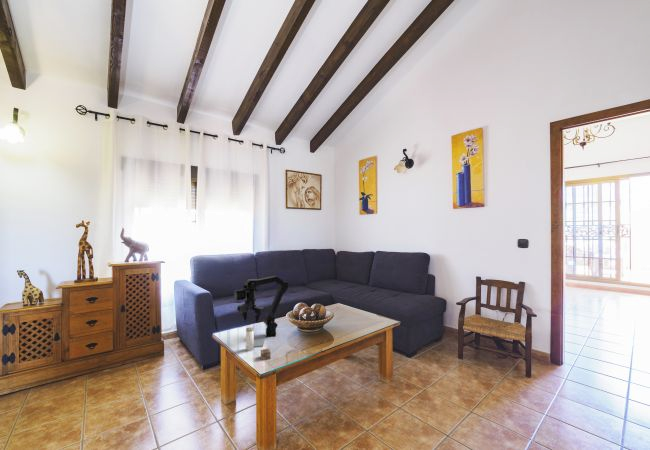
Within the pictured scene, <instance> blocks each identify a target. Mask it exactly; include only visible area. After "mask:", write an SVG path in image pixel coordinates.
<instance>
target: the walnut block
mask: <svg viewBox="0 0 650 450" xmlns="http://www.w3.org/2000/svg"><path fill="white" fill-rule="evenodd" d="M260 359H261V361H266V360H271V349H270V348H265V349H260Z"/></svg>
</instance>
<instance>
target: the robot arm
mask: <svg viewBox="0 0 650 450" xmlns="http://www.w3.org/2000/svg"><path fill="white" fill-rule="evenodd" d="M271 283H275V284H276V285H277V287H276V293H275V296H274V299H273V301H272V303H271V306H270V308H269V311H268V312H265V307H264V306H257V304H256V301H257V299H256V292H258V290H259V289H257V287H259V286H262V285H267V284H271ZM289 286H290V285H289V283H288V282H287V281H284V280H282V279H281V278H280V277H279V276H277V275H272V276H267V277H262V278H258V279H257V278H256V279H255V278H250V279H249V278H248V279H246V280H245V282H244V285H243V286H242V288H241V289H235V291H234V295H233V296H234V300H235V302H236V301H243V300H244V303H242V304H239V305H238V306H237V307H236V310H237V311H238V312H240V313H241V315H242V317H243V319H244V321H247V318H248V317H247V316H248V312H249V311H254V315H255V316H254V317H255V323H257V322H258V321H259V318H260V317H261V315H262V313H263V312H264V315H263V317H262V321H263V324H264V325H265V326H266V328H265V335H266V338H273V337H276V336H277V328H278V323H277V322H276V321H275V320H276V314H277V311H278V308H279V305H280V303H281V301H282V298H283V296H284V295H285V293H286V292H287V290H289Z"/></svg>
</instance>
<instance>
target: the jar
mask: <svg viewBox="0 0 650 450" xmlns="http://www.w3.org/2000/svg"><path fill="white" fill-rule="evenodd" d="M254 331H255V329H254V327H247V328H246V330H245V332H246V337H245V339H246V343H245V344H246V352H252V351H254V349H255V347H254V340H255V337H254Z"/></svg>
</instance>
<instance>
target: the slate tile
mask: <svg viewBox="0 0 650 450" xmlns="http://www.w3.org/2000/svg"><path fill="white" fill-rule="evenodd" d="M265 342H266V339H265V338H264V339H263V338H261V339H254V348H262V347H264V345H265Z"/></svg>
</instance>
